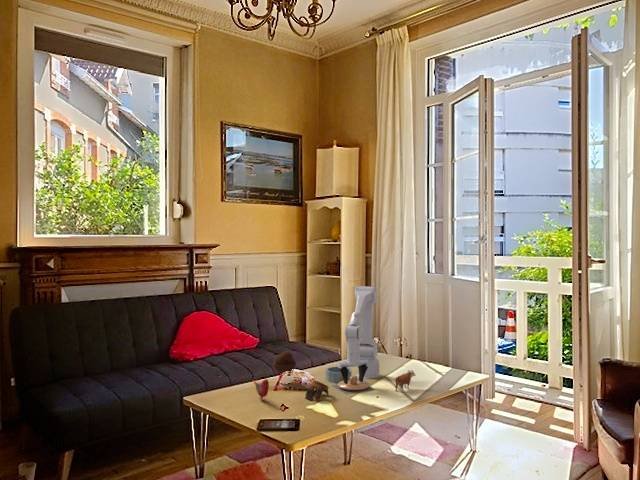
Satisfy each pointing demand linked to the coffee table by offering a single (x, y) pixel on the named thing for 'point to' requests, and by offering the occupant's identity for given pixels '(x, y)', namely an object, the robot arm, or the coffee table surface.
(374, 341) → the robot arm
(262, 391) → the decorative bird figurine
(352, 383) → the lid
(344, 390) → the mat
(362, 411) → the coffee table surface
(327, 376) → the bowl
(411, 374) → the bull figurine
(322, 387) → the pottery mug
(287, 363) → the dark brown rounded lump
